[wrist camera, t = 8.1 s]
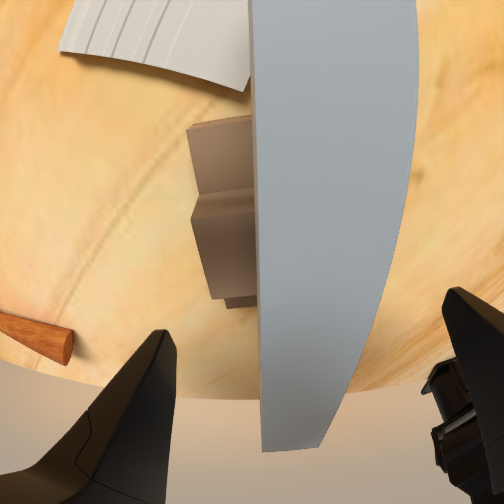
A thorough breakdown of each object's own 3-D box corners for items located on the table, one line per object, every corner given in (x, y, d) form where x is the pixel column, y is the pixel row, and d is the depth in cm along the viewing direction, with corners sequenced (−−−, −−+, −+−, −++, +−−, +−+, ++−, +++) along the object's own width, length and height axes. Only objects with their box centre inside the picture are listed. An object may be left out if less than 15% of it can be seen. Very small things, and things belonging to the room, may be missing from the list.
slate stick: (310, 396, 18) (318, 447, 15) (259, 400, 18) (262, 452, 15) (347, -49, 5) (395, -94, 2) (245, -58, 5) (246, -118, 2)
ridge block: (353, 271, 18) (376, 321, 14) (228, 286, 18) (225, 342, 15) (355, 108, 13) (398, 121, 9) (193, 124, 13) (172, 142, 9)
